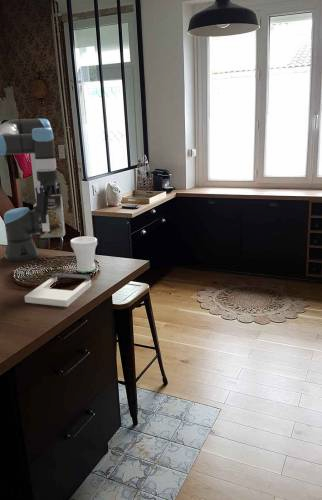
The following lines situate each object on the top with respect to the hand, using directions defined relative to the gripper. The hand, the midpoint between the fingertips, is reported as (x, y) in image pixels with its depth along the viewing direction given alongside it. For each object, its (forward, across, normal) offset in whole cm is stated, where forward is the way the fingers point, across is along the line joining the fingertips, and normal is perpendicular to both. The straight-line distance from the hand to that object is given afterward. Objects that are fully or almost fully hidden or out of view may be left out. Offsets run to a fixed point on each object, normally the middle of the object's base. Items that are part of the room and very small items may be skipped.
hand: (52, 228), depth 167 cm
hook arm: (+22, +1, +7) cm, 23 cm away
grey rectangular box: (+3, 0, 0) cm, 3 cm away
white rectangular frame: (+23, +11, +7) cm, 26 cm away
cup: (+22, -14, +5) cm, 27 cm away
